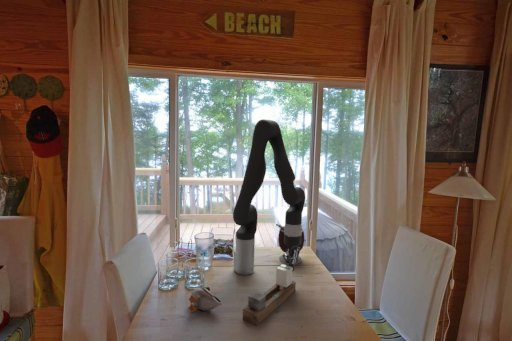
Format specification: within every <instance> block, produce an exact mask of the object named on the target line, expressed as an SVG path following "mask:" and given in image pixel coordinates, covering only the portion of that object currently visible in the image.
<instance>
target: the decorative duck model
mask: <svg viewBox="0 0 512 341" xmlns="http://www.w3.org/2000/svg"><path fill="white" fill-rule="evenodd" d="M210 290H211V288H210V287H209V286H204V287H198V288H195V289H194V290H193V291H192V292H191V295H190V297H189V298H188V300H189V303H190V306H189V307H188V310H189V311H190V313H193V312H195V311H196V310H197V309H198V310H200V311H204V312H205V311H210V310H214V309H217V308H219V307H220V306H222V302H221V301H222V300H221V299H219V298H218V297H216V296H215V295H214V294H213V293H212V292H211V291H210Z"/></svg>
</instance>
